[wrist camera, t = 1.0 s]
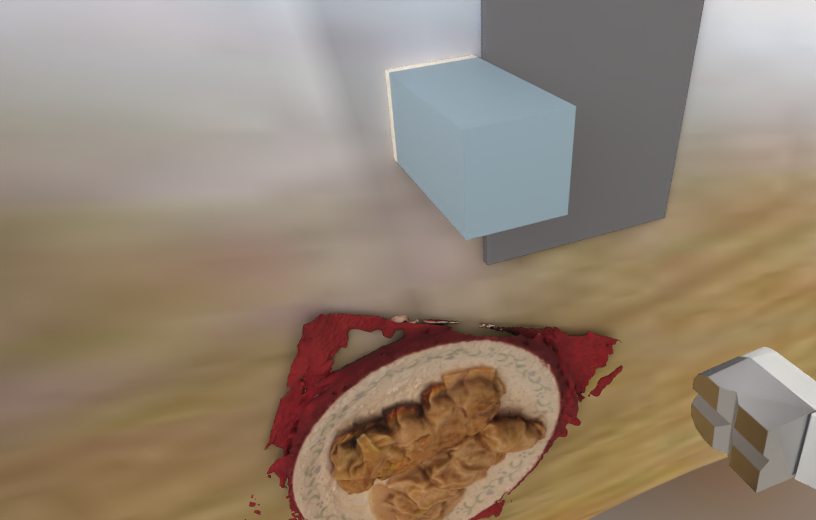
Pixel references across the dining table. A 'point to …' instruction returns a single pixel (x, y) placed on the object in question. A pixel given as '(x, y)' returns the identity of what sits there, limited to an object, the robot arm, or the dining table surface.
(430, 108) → the slate block
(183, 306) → the dining table surface
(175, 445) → the dining table surface
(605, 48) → the charcoal mat
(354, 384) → the plate with food
